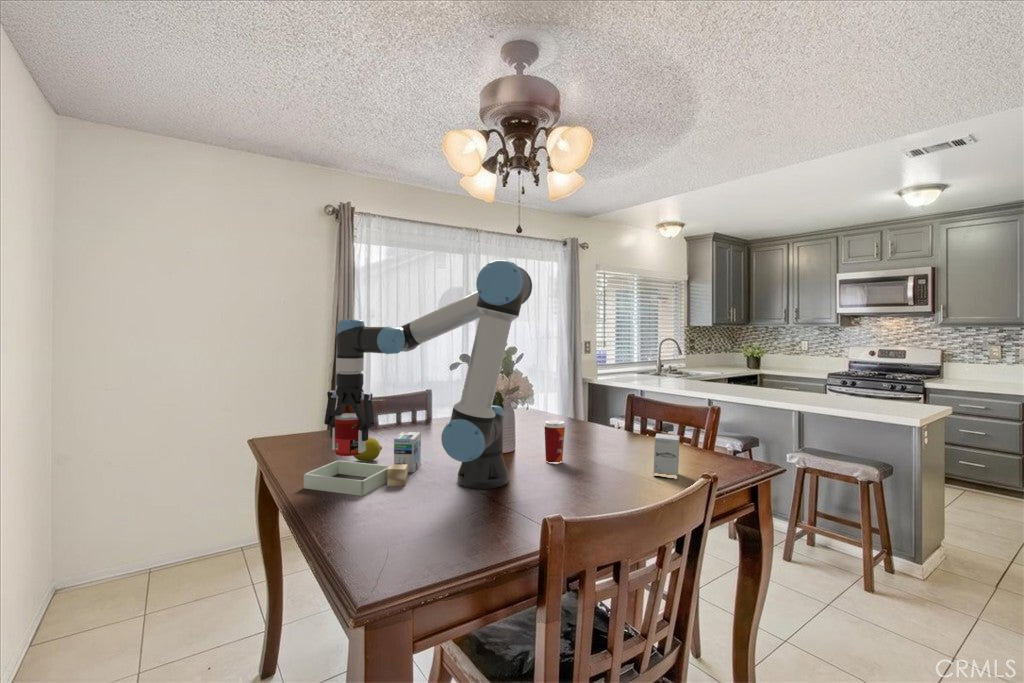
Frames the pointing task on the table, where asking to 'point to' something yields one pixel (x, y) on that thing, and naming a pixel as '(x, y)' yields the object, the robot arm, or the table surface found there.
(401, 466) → the maple block
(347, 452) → the canned food
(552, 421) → the paper cup
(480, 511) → the table surface
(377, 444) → the lemon
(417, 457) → the light bulb box
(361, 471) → the box
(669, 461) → the supplement box
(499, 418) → the robot arm
